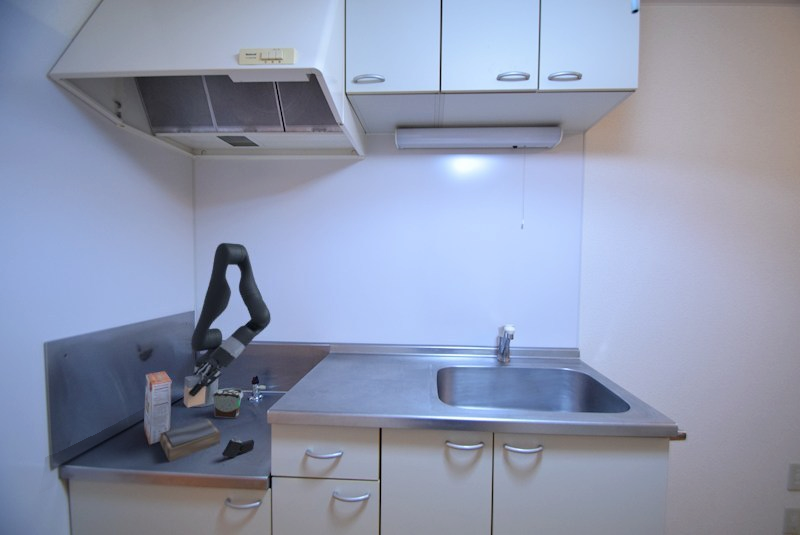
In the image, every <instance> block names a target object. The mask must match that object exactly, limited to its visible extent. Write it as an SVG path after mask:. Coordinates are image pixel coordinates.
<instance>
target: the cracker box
mask: <svg viewBox="0 0 800 535" xmlns="http://www.w3.org/2000/svg"><path fill="white" fill-rule="evenodd" d="M172 384H173V381H172V380H171V378H170V376H169V375H168V374H167V372H166V371H164V370H162V371H158V372H157V371H156V372H152V373H147V374H145V393H144V394H145V395H144V415H143V417H144V419H143V420H144V422H143V430H144V433H145V436H146V439H147V442H148V446H151V445H153V444H154V445H155V444H158V443H160V440H161V433H163V432H166V431H169V430H171V429H170V428H171V408H172V406H171V405H172V387H173V386H172Z"/></svg>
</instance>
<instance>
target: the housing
mask: <svg viewBox="0 0 800 535" xmlns="http://www.w3.org/2000/svg"><path fill="white" fill-rule="evenodd" d="M202 375H203V374H200V375H193V374H192V375H190V376H189V375H188V376H185V377H184V387H183V390H184V392H183V404H184V406H186V408H191V407H195V406H196V405H200V404H203V403H205V391H206V386H205V387H203V388H202V389H201V390H200V391H199V392H198V393H197V394H196V395H195V396H194V397H193V396H191V395H189V392H190V391H191V390H192V388H193V387H194V386H195V385H196V384H197V383H198V382H199V381H200V380H201V379H202Z"/></svg>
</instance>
